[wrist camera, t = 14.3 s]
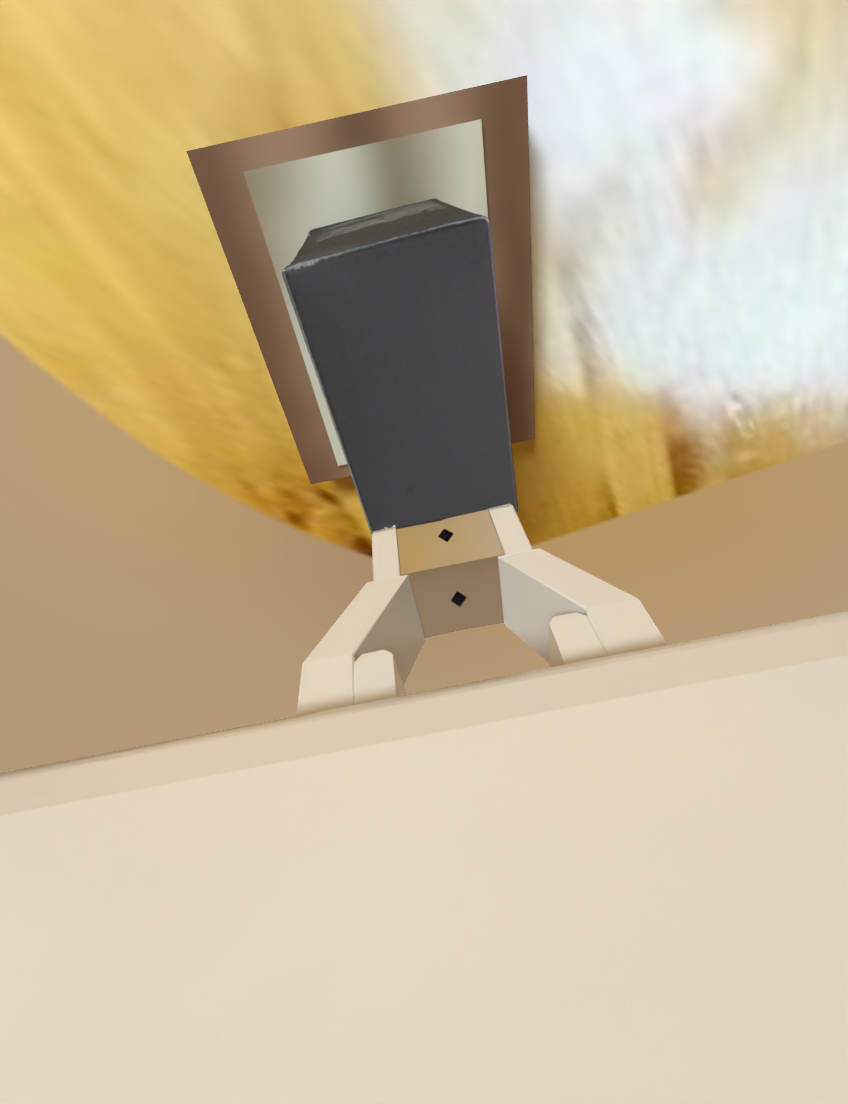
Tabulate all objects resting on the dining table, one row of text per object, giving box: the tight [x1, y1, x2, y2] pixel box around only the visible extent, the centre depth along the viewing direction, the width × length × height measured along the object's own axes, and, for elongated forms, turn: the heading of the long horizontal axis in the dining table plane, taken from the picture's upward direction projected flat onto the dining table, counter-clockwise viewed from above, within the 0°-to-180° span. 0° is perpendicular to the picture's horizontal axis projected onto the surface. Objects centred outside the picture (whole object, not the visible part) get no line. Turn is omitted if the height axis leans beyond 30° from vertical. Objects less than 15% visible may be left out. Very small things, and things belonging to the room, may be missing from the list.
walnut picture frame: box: [187, 75, 535, 484], centre depth 25 cm, size 14×16×3 cm
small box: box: [282, 198, 518, 534], centre depth 20 cm, size 11×6×10 cm, turn 12°
